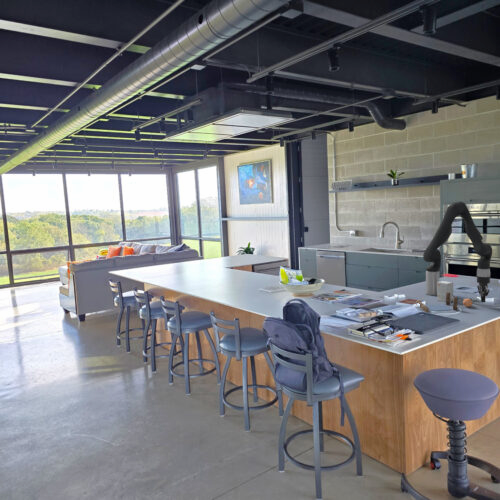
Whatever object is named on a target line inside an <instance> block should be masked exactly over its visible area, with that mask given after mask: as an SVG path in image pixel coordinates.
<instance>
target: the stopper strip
mask: <svg viewBox="0 0 500 500" xmlns="http://www.w3.org/2000/svg"><path fill="white" fill-rule="evenodd" d="M416 303H419V304H420V307H419V308H420V309H421V310H422V311H424V312H425V313H429V312H430V310H429V308H428V307H427V306H425V305H426V304H424V303H423V302H422V301H421V300H416V301H415V304H416Z"/></svg>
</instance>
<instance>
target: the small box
mask: <svg viewBox="0 0 500 500" xmlns="http://www.w3.org/2000/svg"><path fill="white" fill-rule="evenodd" d="M446 293H450V303H451V302H453V297H454V282H452V281H446V280H441V281H440V280H439V282H437V295H436V296H437V297H436V298H437V299H436V300H437V301H439V302H444V303H446Z"/></svg>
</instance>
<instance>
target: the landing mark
mask: <svg viewBox="0 0 500 500" xmlns="http://www.w3.org/2000/svg"><path fill="white" fill-rule="evenodd" d="M424 305H425V306H427V307H428V308H429V312H430V311H451V310H452V308H450V307H448V305H446V304H424Z"/></svg>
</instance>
